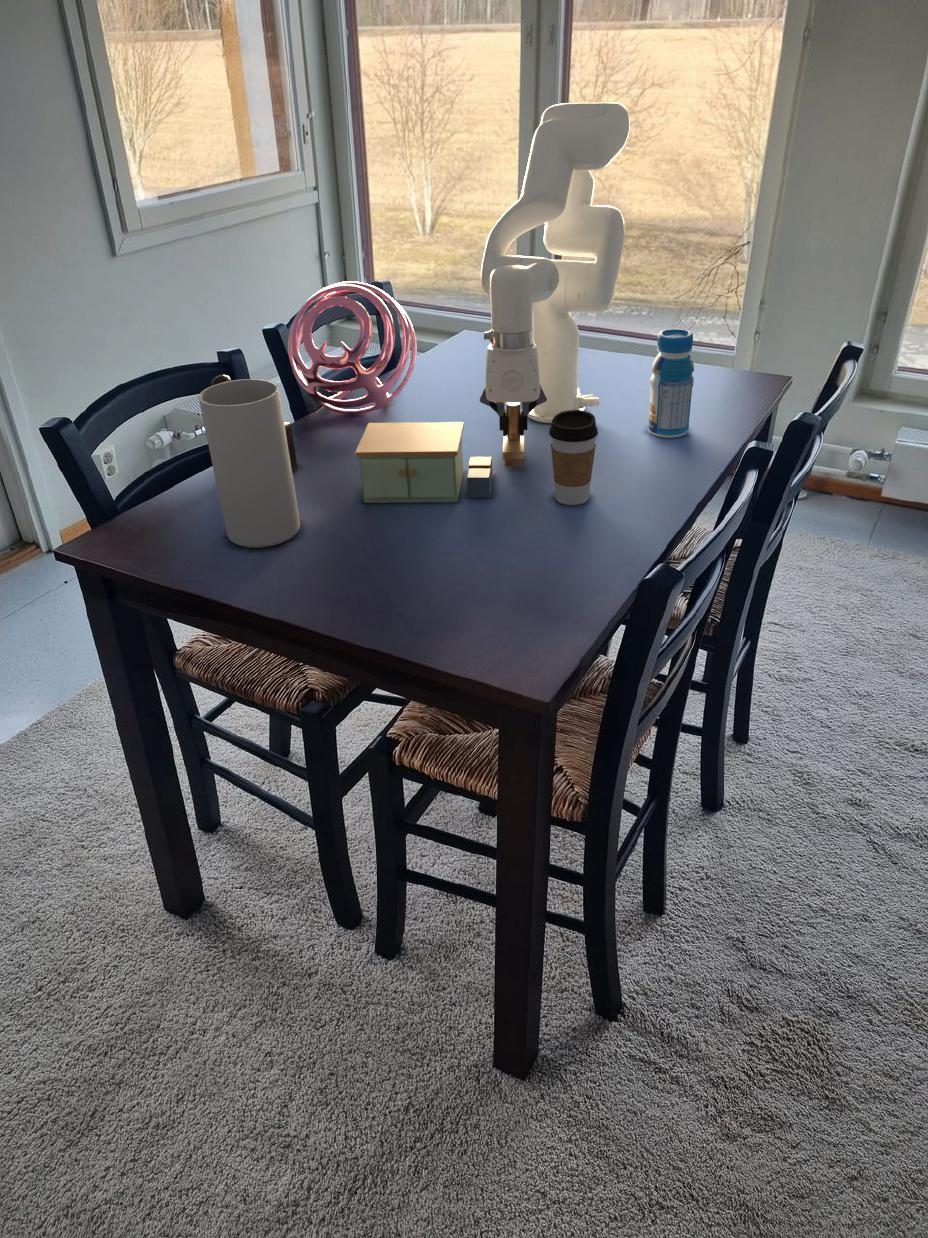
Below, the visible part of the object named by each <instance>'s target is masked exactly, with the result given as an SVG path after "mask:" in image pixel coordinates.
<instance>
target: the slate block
mask: <svg viewBox="0 0 928 1238" xmlns="http://www.w3.org/2000/svg"><path fill="white" fill-rule="evenodd" d="M466 489H467V498H468V499H469V498H470V499H471V498H472V499H475V498H477V499H482V498H483V499H490V498H491V493H492V489H493V487H492V481H491V468H469V467H468V471H467V475H466Z"/></svg>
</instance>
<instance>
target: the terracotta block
mask: <svg viewBox="0 0 928 1238" xmlns="http://www.w3.org/2000/svg"><path fill="white" fill-rule="evenodd" d="M469 468H491V482H492V481H493V457H492V456H470V458H469V462H468V469H469Z"/></svg>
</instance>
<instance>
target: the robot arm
mask: <svg viewBox="0 0 928 1238" xmlns="http://www.w3.org/2000/svg"><path fill="white" fill-rule="evenodd" d="M630 127H631V120H630V114H629V112H628V110H627V108H626V107H625V106H624V105H623V104H622V103H619V102H565V103H558V104H553V105H550V106H549V107H547V108H546V109H545V110H544V111H543V113H542V115H541V118H540V124H539V126H537V128H536V130H535V132H534V133H533V138H532V142H531V146H530V153H529V156H528V161H527V166H526V171H525V175H524V179H523V184H522V188H521V192H520V193H521V194H520V197H519V199H518V200H517V201H516V202H514V203H513V204H512V205H511V206H510V207H509V208H508V209H507V210H506V211H505V212H504V213H503V214H502V215H501V217H500V218H499V219H498V220H497V221H496V223H495V224H494V225H493V227H492V229H491V230H490V232H489V234H488V236H487V239H486V244H485V248H484V253H483V257H482V261H481V266H480V267H481V268H480V274H479V275H480V277H479V278H480V286H481V289H482V291H483V293H484V294H485V295H486V296H487V297H490V317H491V318H490V324H491V329H490V330H489V331H485V332H483V340H485V341H489V342H490V343H489V345H488V346H487V350H486V357H485V358H486V359H485V381H484V383H485V385H484V388H483V390H482V392H481V394H480V396H479V403H481V404H483V405H486V406H489V407H490V408H491V409H492V410H493V411H494V412H495V413H496V414H497V416H498V418H499V419H498V420H499V421H498V423H499V431H502V437H504V436H507V408H506V407H505V406H506V403H508V402H519V403H521V408H520V435H521V436H524V437H525V431H528V430H529V429H528V421H529V420H528V418H529V419H531V420H533V421H536V422H539V423H544V424H552V420H553V418H554V417H555V416H556V415H557V414H559V413H561V412H564V411H568V410H582V411H586V409H585V407H592V408H597V407H598V408H599V407H600V397H594V394H582V393H580V388H579V357H580V355H579V354H580V332H579V331H580V330H579V327H578V324H577V322H576V320H575V319H574V317H573V315H572V314H571V312H573V313H585V314H586V313H589V314H601V313H605V312H607V311H608V310H609V309H610V308H611V306H612V304H613V301H614V298H615V294H616V289H617V282H618V279H619V270H620V266H621V258H622V253H623V247H624V241H625V240H624V239H625V220H624V216H623V214H622V212H621V210H619V209H618V208H617V207H615V206H611V205H601V204H600V205H598V204H596V205H595V204H594V205H592V203H593V198H594V191H595V179H594V176H593V174H592V172H591V171H599V170H600V171H601V170H602V169H604V168H606V167H608V166H609V165H610V163H611V162H612V161H614V159H615V158H616V157H617V156H618V155H619V154H620V153H621V151H622V150H623V149H624V147H625V145H626V143H627V141H628V138H629V134H630V129H631V128H630ZM542 225H544V233H543V244H544V247H545V249H546V251H548V252H549V253H550V254H552V255H557V256H564V257H580V258H594V259H595V260H594V261H581V260H568V259H567V260H565V259H564V260H563V259H550V258H547V257H542V256H541V257H540V256H527V255H526V256H525V255H507V254H506V253H507V251H508V249H509V248H510V246H511V245H512V244H513V242H514V241H515V240H517V239H518V238H519V237H520V236H522V235H524V234H525V233H527V232H529V231H532V230H533V229H536V228H538V227H540V226H542Z"/></svg>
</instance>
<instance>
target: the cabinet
mask: <svg viewBox="0 0 928 1238" xmlns="http://www.w3.org/2000/svg"><path fill="white" fill-rule="evenodd" d="M464 427H465V422H464V421H424V422H423V421H421V422H419V421H417V422H411V421H409V422H368V423H367V426H366V427H365V430H364V432H363V435H362V437H361V439H360V440H359V444H358V445H357V448H356V450H355V452H354V454H355V457H358V460H359V466H360V467H359V468H360V476H361V486H362V494H363V502H364V503H365V504H366V503H367V504H368V503H369V504H370V503H371V504H373V503H375V504H376V503H378V504H379V503H380V504H381V503H383V504H384V503H387V504H389V503H458V501H459V496H460V491H461V486H462V482H463V481H462V480H463V476H464V459H463V457H464V455H463V432H464Z"/></svg>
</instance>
